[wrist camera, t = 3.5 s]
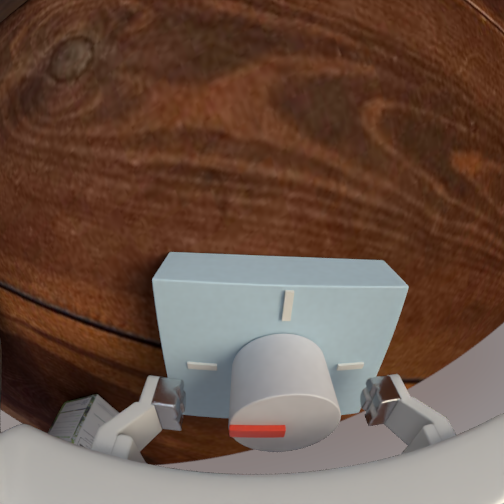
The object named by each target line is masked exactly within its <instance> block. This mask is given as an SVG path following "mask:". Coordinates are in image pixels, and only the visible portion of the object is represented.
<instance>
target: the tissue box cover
mask: <svg viewBox="0 0 504 504" xmlns="http://www.w3.org/2000/svg"><path fill="white" fill-rule="evenodd" d="M26 1H27V0H0V22H2V21H3V20H4V19H5V18H6V17H7V16H8V15H10V14H11V13H12V12H13V11H15V10H16V9H17V8H18V7H19V6H21V5H22V4H23V3H25V2H26Z"/></svg>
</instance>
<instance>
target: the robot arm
mask: <svg viewBox="0 0 504 504" xmlns="http://www.w3.org/2000/svg"><path fill="white" fill-rule="evenodd" d="M365 384H366V388H364V389H363V390H362V392H361V396H360V403H361V407H362V409H364V410H365V411H366V414H365V418H366V420H367V423H368V426H373V425H379V424H385V425H386V426H387V427H388V428H389V429H390V430H391V431H392V432H393V433H394V434H396V435H397V436H398V437H399V438H400V439H401V440H402V441H403V442H405V443H406V444H407V445H408V446H407V448H406V449H405V450H404V451H403V453H402V454H401V455H397V456H393V457H389V458H385V459H382V460H377V461H373V462H368V463H363V464H358V465H353V466H348V467H341V468H334V469H328V470H319V471H310V472H299V473H285V474H223V473H209V472H198V471H188V470H180V469H174V468H167V467H161V466H156V465H150V464H146V462H145V461H144V459H143V457H142V455H141V454H140V451H141V450H142V449H143V448H144V447H145V446H146V445H147V444H148V443H149V442H150V441H151V440H152V439H153V438H154V437H155V436H156V435H157V434H158V433H159V432H160V431H161V430H162V429H169V430H178V431H181V429H182V423H183V415H182V413H183V412H185V407H186V393H185V391H184V390H183V389H184V382H183V380H180V379H173V378H166V377H158V376H152V375H149V376H148V377H147V380H146V383H145V385H144V388H143V391H142V394H141V397H140V400H139V402H135V403H133V404H132V405H130V406H129V407H128V408H126V409H125V410H123V411H122V412H120V413H119V414H118V415H116V416H115V417H113V418H112V419H110V420H109V421H107V422H106V423H105V424H103V425H102V426H100V427H99V428H98V430H97V433H96V435H95V438H94V441H93V443H92V446H91V448H90V449H88V448H85V447H82V446H79V445H76V444H73V443H71V442H68V441H65V440H63V439H60V438H58V437H55V436H53V435H50V434H48V433H46V432H43V431H41V430H39V429H37V428H34V427H32V426H30V425H27V424H20V425H17V426H14V427H12V428H10V429H8V430H5V431H4V432H1V433H0V504H504V413H503V414H500V415H498V416H496V417H494V418H492V419H490V420H488V421H486V422H485V423H482V424H480V425H478V426H476V427H474V428H472V429H469V430H467V431H465V432H463V433H461V434H458V435H456V434H455V432H454V430H453V428H452V426H451V424H450V422H449V421H448V419H447V418H446V417H445V416H443V415H441V414H440V413H438V412H437V411H435V410H433V409H432V408H430V407H429V406H427V405H425V404H424V403H422V402H421V401H419V400H417V399H416V398H414V397H410V395H409V393H408V391H407V389H406V387H405V385H404V384H403V382H402V380H401V378H400V376H399V375H398V374H394V375H388V376H387V375H386V376H380V377H372V378H369V379H367V381H366V383H365Z"/></svg>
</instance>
